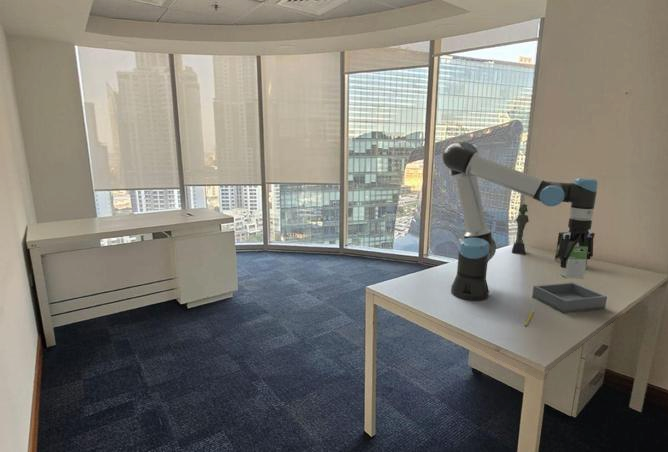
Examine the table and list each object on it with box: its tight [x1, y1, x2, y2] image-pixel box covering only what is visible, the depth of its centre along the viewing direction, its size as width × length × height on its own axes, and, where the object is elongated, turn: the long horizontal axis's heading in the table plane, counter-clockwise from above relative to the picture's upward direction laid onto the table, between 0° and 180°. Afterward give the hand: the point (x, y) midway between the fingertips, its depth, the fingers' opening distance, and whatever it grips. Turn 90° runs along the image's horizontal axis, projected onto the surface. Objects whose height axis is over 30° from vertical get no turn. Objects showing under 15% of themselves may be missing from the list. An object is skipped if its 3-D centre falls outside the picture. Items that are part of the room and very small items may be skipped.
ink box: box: [560, 246, 588, 280], centre depth 150 cm, size 7×4×13 cm, turn 84°
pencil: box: [524, 311, 534, 327], centre depth 138 cm, size 1×14×1 cm, turn 144°
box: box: [531, 281, 608, 314], centre depth 153 cm, size 20×16×5 cm
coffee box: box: [554, 231, 580, 263], centre depth 206 cm, size 9×6×16 cm
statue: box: [511, 203, 530, 255], centre depth 223 cm, size 7×8×30 cm
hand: (572, 274), depth 151 cm, fingers closed on ink box, 8 cm apart
